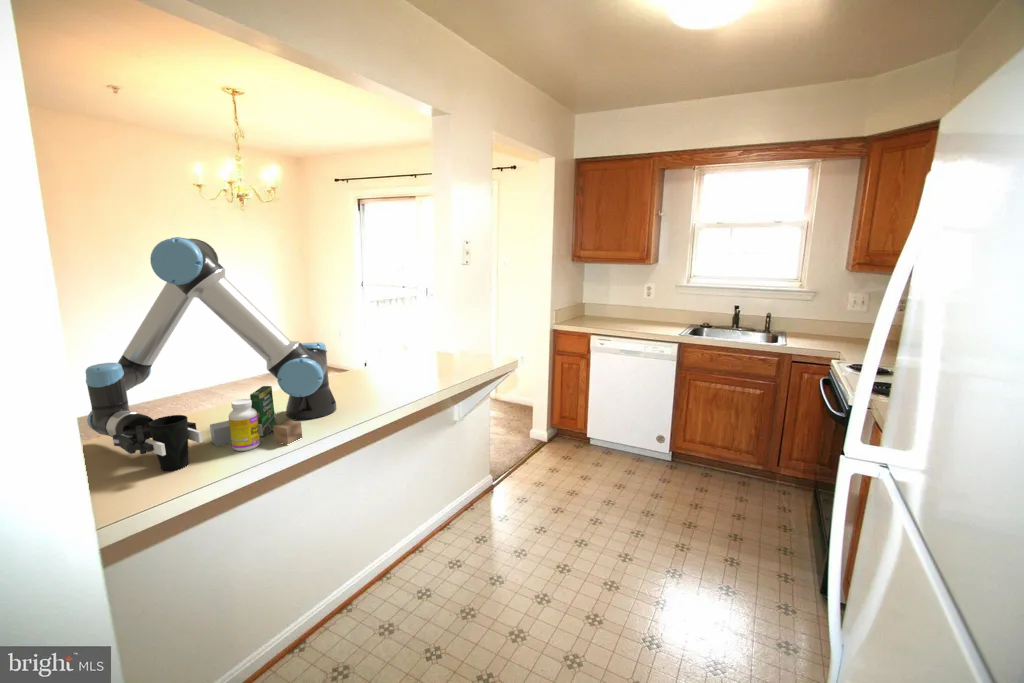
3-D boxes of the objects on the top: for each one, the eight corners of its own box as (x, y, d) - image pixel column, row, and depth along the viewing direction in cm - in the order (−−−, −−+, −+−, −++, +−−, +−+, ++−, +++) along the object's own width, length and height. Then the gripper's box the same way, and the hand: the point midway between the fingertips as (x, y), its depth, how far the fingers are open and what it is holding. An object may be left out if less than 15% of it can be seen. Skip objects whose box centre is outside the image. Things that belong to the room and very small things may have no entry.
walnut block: (289, 436, 134) (287, 419, 133) (302, 438, 132) (300, 422, 131) (274, 442, 130) (272, 425, 129) (288, 445, 128) (286, 428, 127)
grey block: (232, 436, 134) (230, 420, 133) (236, 441, 131) (234, 424, 130) (211, 441, 131) (209, 424, 130) (216, 446, 127) (213, 429, 126)
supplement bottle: (255, 451, 124) (249, 404, 122) (228, 452, 123) (222, 406, 121) (264, 441, 131) (259, 397, 128) (238, 442, 130) (233, 398, 127)
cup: (200, 459, 119) (194, 414, 117) (180, 473, 112) (173, 425, 110) (169, 459, 119) (162, 415, 117) (147, 473, 112) (140, 426, 109)
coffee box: (264, 438, 133) (259, 393, 130) (253, 438, 133) (248, 393, 130) (277, 427, 141) (272, 385, 138) (267, 427, 141) (262, 385, 138)
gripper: (176, 427, 132) (226, 442, 122) (85, 456, 114) (135, 476, 104) (172, 402, 130) (223, 415, 120) (79, 426, 112) (130, 444, 102)
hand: (182, 443), depth 112 cm, fingers closed on cup, 8 cm apart
